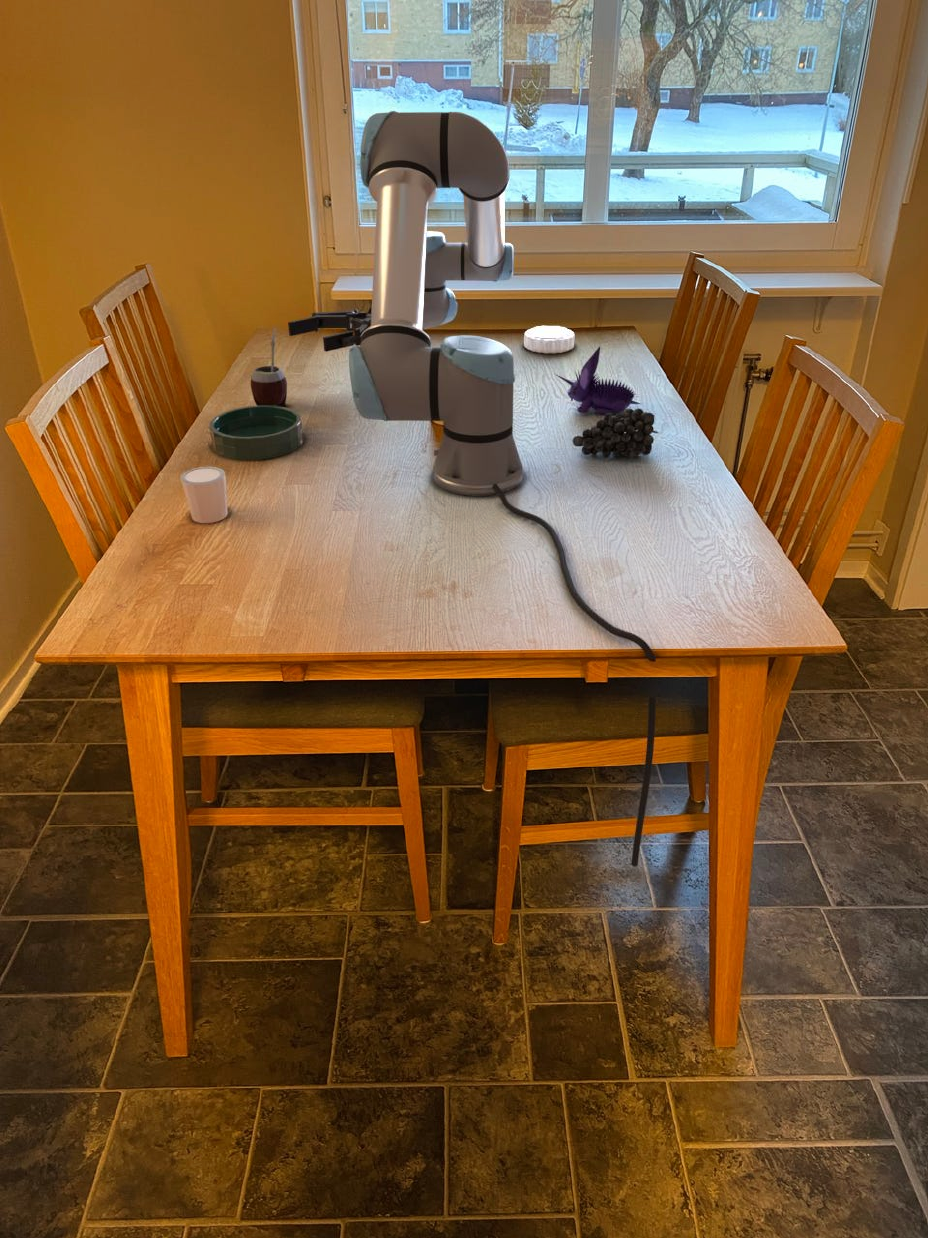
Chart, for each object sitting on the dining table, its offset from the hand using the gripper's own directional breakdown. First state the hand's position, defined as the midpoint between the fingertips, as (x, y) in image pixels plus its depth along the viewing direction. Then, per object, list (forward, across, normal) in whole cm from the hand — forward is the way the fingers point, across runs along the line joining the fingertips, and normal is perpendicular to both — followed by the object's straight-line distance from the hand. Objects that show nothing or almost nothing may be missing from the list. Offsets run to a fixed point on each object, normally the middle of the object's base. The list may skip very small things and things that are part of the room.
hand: (306, 336), depth 188 cm
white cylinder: (+41, -36, -13) cm, 56 cm away
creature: (-40, -43, -13) cm, 60 cm away
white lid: (-62, -6, -13) cm, 64 cm away
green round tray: (+21, -15, -12) cm, 28 cm away
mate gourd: (+10, 0, -13) cm, 16 cm away
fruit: (-26, -61, -13) cm, 67 cm away
